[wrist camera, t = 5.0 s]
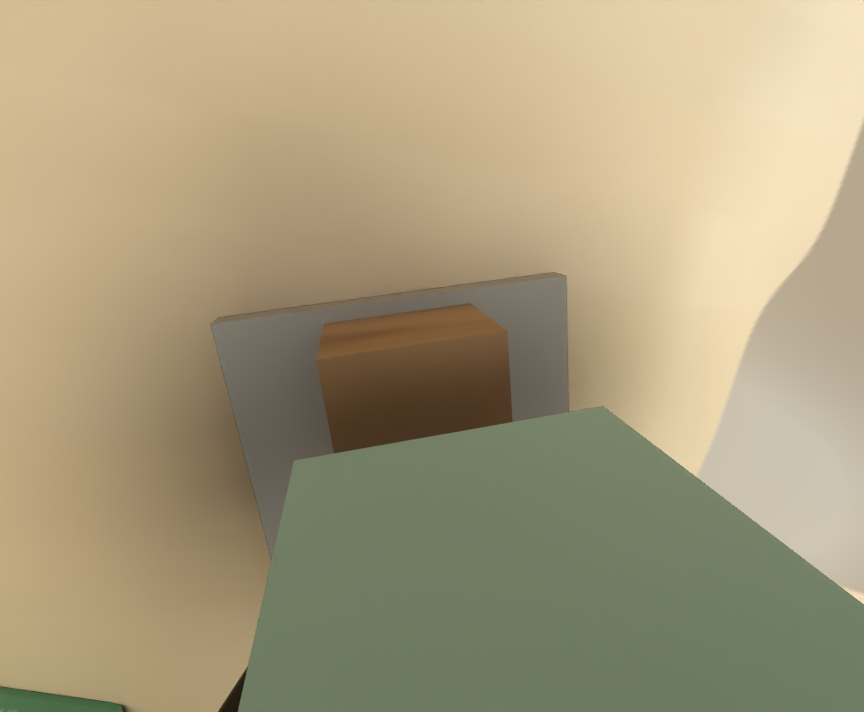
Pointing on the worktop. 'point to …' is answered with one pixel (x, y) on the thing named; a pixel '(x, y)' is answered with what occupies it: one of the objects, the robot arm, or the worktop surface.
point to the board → (302, 326)
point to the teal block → (539, 585)
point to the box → (50, 702)
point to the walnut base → (413, 376)
